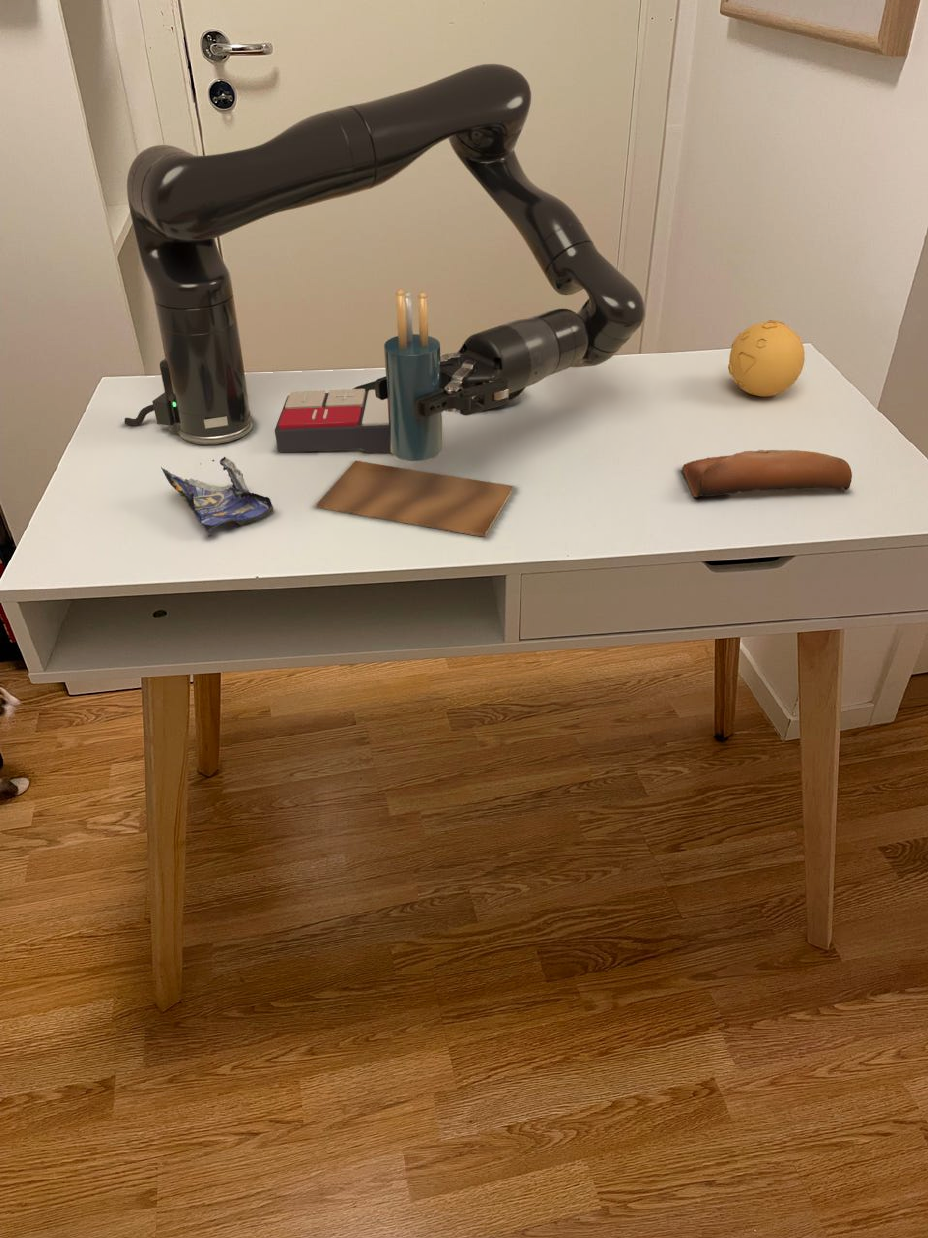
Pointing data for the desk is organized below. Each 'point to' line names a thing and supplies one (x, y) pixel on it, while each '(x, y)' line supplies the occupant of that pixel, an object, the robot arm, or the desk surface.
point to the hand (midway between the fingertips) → (396, 399)
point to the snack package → (221, 499)
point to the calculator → (333, 422)
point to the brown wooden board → (417, 498)
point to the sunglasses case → (766, 472)
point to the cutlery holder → (412, 383)
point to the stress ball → (766, 358)
